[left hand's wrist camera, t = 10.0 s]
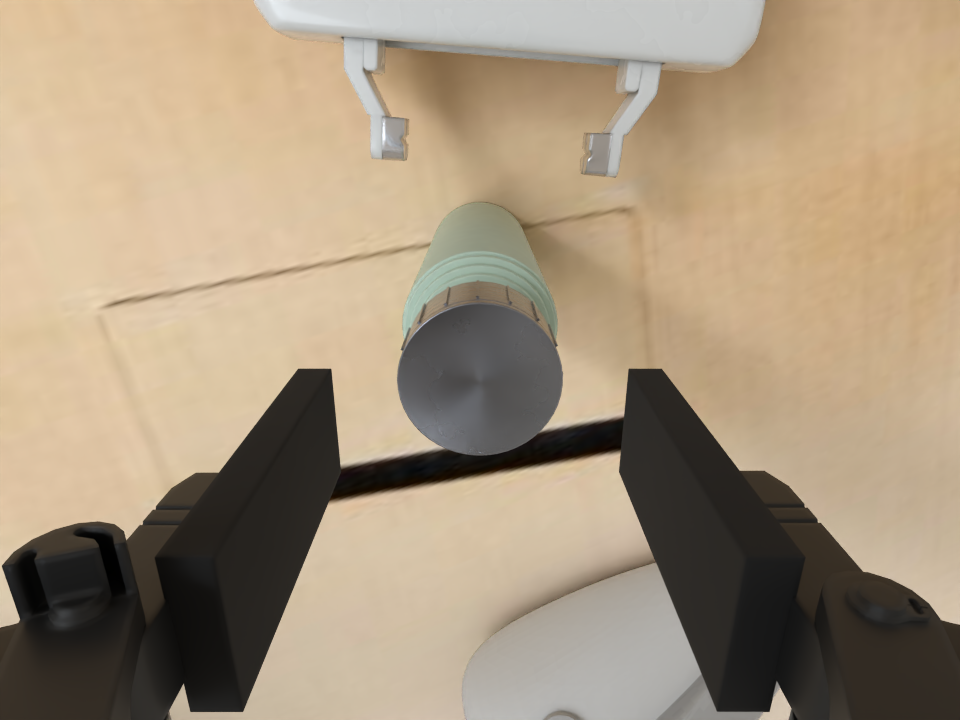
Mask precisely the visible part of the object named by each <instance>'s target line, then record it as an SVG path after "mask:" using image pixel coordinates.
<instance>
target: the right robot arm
mask: <svg viewBox="0 0 960 720" xmlns="http://www.w3.org/2000/svg"><path fill="white" fill-rule="evenodd" d="M253 1H254V4H255V6H256V7H257V9H258V11H259V12H260V14H261V15H262V16H263V18H264V19H265V20H266V22H267V23H268V24H269V25H270V27H271V28H272V29H273V30H275V31H277V32H278V33H280V34H282V35H284V36H286V37H289V38H291V39H294V40H301V41H312V42H325V43H337V44H344V70H345V71H346V73H347V75H348V77H349V79H350V81H351V83H352V85H353V87H354V89H355V91H356V93H357V95H358V97H359V99H360V101H361V103H362V104H363V106H364V108H365V110H366V112H367V114H368V115H371V142H370V151H371V158H372V159H381V160H398V161H405V160H407V158H408V143H407V142H406V140H405V139H406V137H407V136H408V135H409V119H405V118H396V117H391V115H390V112H389V110H388V108H387V106H386V104H385V102H384V100H383V98H382V96H381V94H380V92H379V90H378V87H377V85H376V83H375V81H374V79H373V77H372V73H373V74H376V75H383V74H384V73H385V47H386V48H399V49H411V50H423V51H436V52H448V53H460V54H472V55H485V56H497V57H509V58H522V59H534V60H546V61H559V62H571V63H583V64H596V65H608V66H618V70H617V78H616V86H615V92H616V93H617V94H627V97H626V98H625V100H624V101H623V102H622V104H621V105H620V107H619V108H618V110H617V111H616V113H615V114H614V116H613V117H612V119H611V120H610V121H609V123H608V124H607V126H606V127H605V129H604V130H603V132H602V133H603V134H600V133H584V139H583V146H582V148H583V150H584V152H585V154H584V155H583V156H582V158H581V163H580V173H581V174H584V175H594V176H604V177H605V176H606V177H616V176H617V174H618V171H619V166H620V159H621V152H622V146H623V139H624V135H627V134H628V133H629V132H630V130H631V129H632V127H633V126H634V125H635V123H636V122H637V121H638V119H639V118H640V117H641V115H642V114H643V112H644V111H645V110H646V108H647V107H648V106H649V104H650V103H651V102H652V100H653V99H654V97H655V96H656V95H657V91H658V85H659V79H660V73H661V70H669V71H682V72H694V73H711V72H716V71H720V70H724V69H727V68H730V67H732V66H733V65H734V64H735V63H736V62H738V61H739V60H740V59H741V58H742V57H743V56H744V55H745V53H746V52H747V51H748V50H749V49H750V48H751V47H752V46H753V44H754V42H755V41H756V39H757V36H758V33H759V29H760V25H761V21H762V17H763V12H764V7H765V2H766V0H253Z"/></svg>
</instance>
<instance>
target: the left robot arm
mask: <svg viewBox="0 0 960 720" xmlns="http://www.w3.org/2000/svg"><path fill="white" fill-rule="evenodd" d="M340 473H341V467H340V457H339V446H338V436H337V425H336V414H335V404H334V393H333V382H332V372H331V369H298V370H297V371H296V372H295V374H294V375H293V376H292V378H291V379H290V380H289V382H288V383H287V384H286V386H285V387H284V388H283V390H282V391H281V392H280V393H279V395H278V396H277V397H276V399H275V400H274V401H273V403H272V404H271V405H270V407H269V408H268V409H267V410H266V412H265V413H264V414H263V416H262V417H261V418H260V420H259V421H258V422H257V424H256V425H255V426H254V428H253V429H252V430H251V431H250V433H249V434H248V435H247V437H246V438H245V439H244V441H243V442H242V443H241V445H240V446H239V447H238V448H237V450H236V451H235V452H234V454H233V455H232V456H231V458H230V459H229V460H228V462H227V463H226V464H225V465H224V467H223V468H222V469H221V471H220V472H219V473H195V474H193V475H192V476H190V477H189V478H187V479H185V480H184V481H182V482H181V483H179V484H178V485H176V486H174V487H173V488H171V490H170V491H169V492H168V493H167V494H166V495H165V497H164V498H163V499H162V500H161V501H160V502H159V503H158V505H157V506H156V510H152V512H151V513H150V514H149V515H148V516H147V517H146V519H145V520H144V521H143V525H139V527H138V528H137V529H136V530H135V531H134V532H133V534H132V535H131V536H130V537H129V538H128V539H127V541H126V538H125V534H124V531H123V530H121V529H120V528H119V527H117V526H116V525H115V524H110V523H104V522H88V523H77V524H74V525H70V526H66V527H63V528H59V529H55V530H53V531H51V532H48V533H46V534H44V535H42V536H39V537H37V538H35V539H33V540H31V541H30V542H28V543H27V544H25V545H24V546H22V547H21V548H19V549H18V550H16V551H15V552H13V554H12V555H11V556H10V557H9V558H8V559H7V561H6V562H5V563H4V564H3V565H2V568H3V571H4V574H5V577H6V579H7V582H8V585H9V588H10V591H11V594H12V597H13V600H14V603H15V605H16V608H17V611H18V614H19V617H20V621H19V623H17V624H14V625H10V626H5V627H1V628H0V720H171V717H170V713H169V710H170V708H171V706H172V704H173V702H174V700H175V698H176V697H177V695H178V693H179V691H180V689H181V687H182V685H183V684H184V686H185V690H186V695H187V699H188V703H189V707H190V712H243V711H244V708H245V706H246V703H247V701H248V698H249V696H250V693H251V691H252V689H253V686H254V684H255V681H256V679H257V676H258V674H259V671H260V669H261V666H262V664H263V662H264V659H265V657H266V654H267V652H268V649H269V647H270V644H271V642H272V640H273V637H274V635H275V632H276V630H277V627H278V625H279V622H280V620H281V617H282V615H283V613H284V610H285V608H286V605H287V603H288V600H289V598H290V595H291V593H292V590H293V588H294V586H295V583H296V581H297V578H298V576H299V573H300V571H301V568H302V566H303V564H304V561H305V559H306V556H307V554H308V551H309V549H310V546H311V544H312V541H313V539H314V537H315V534H316V532H317V529H318V527H319V524H320V522H321V519H322V517H323V514H324V512H325V510H326V507H327V505H328V502H329V500H330V497H331V495H332V492H333V490H334V488H335V485H336V483H337V480H338V478H339V475H340ZM619 473H620V475H621V478H622V480H623V483H624V485H625V488H626V490H627V492H628V495H629V497H630V500H631V502H632V505H633V507H634V510H635V512H636V514H637V517H638V519H639V522H640V524H641V527H642V529H643V532H644V534H645V537H646V539H647V541H648V544H649V546H650V549H651V551H652V554H653V556H654V559H655V561H656V564H657V566H658V568H659V571H660V573H661V576H662V578H663V581H664V583H665V586H666V588H667V590H668V593H669V595H670V598H671V600H672V603H673V605H674V608H675V610H676V613H677V615H678V617H679V620H680V622H681V625H682V627H683V630H684V632H685V635H686V637H687V640H688V642H689V644H690V647H691V649H692V652H693V654H694V657H695V659H696V662H697V664H698V666H699V669H700V671H701V674H702V676H703V679H704V681H705V684H706V686H707V689H708V691H709V693H710V696H711V698H712V701H713V703H714V706H715V708H716V711H717V712H770V707H771V703H772V699H773V695H774V690H775V686H776V682H778V684H779V686H780V688H781V690H782V692H783V693H784V695H785V697H786V699H787V701H788V703H789V705H790V706H791V708H792V709H791V713H790V717H789V720H960V625H958V624H953V623H949V622H946V621H942V620H940V618H939V617H938V615H937V614H936V613H935V611H934V610H933V608H932V607H931V606H930V604H929V603H927V602H926V601H925V600H924V599H922V598H921V597H920V596H918V595H917V594H916V593H915V592H913V591H912V590H910V589H908V588H906V587H905V586H903V585H901V584H899V583H897V582H895V581H893V580H891V579H888V578H885V577H881V576H878V575H875V574H871V573H868V572H863V571H862V570H861V569H860V568H859V566H858V565H857V564H856V563H855V562H854V561H853V560H852V558H851V557H850V556H849V555H848V554H847V553H846V552H845V550H844V549H843V548H842V547H841V546H840V545H839V543H838V542H837V541H836V540H835V539H834V538H833V537H832V535H831V534H830V533H829V532H828V531H827V530H826V528H825V527H824V526H823V525H822V524H821V523H818V522H817V518H816V517H815V516H814V515H813V514H812V512H811V511H810V510H809V509H808V508H805V507H804V503H803V502H802V501H801V500H800V499H799V497H798V496H797V495H796V494H795V493H794V492H793V491H792V489H791V488H790V487H789V486H788V485H786V484H784V483H783V482H781V481H780V480H778V479H776V478H775V477H773V476H772V475H770V474H768V473H767V472H765V471H739V469H738V468H737V467H736V465H735V464H734V463H733V462H732V460H731V459H730V458H729V456H728V455H727V454H726V452H725V451H724V450H723V448H722V447H721V446H720V445H719V443H718V442H717V441H716V439H715V438H714V437H713V435H712V434H711V433H710V431H709V430H708V429H707V428H706V426H705V425H704V424H703V422H702V421H701V420H700V418H699V417H698V416H697V414H696V413H695V412H694V410H693V409H692V408H691V407H690V405H689V404H688V403H687V401H686V400H685V399H684V397H683V396H682V395H681V393H680V392H679V391H678V390H677V388H676V387H675V386H674V384H673V383H672V382H671V380H670V379H669V378H668V376H667V375H666V374H665V372H664V371H663V370H662V369H629V372H628V382H627V393H626V404H625V414H624V425H623V436H622V446H621V457H620V467H619Z"/></svg>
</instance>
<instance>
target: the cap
mask: <svg viewBox="0 0 960 720" xmlns="http://www.w3.org/2000/svg"><path fill="white" fill-rule="evenodd" d="M556 346H558V345H557V342H556V339H555V337H554V334H553V331H552V328H551V326H550V324H547V322H546V320H545V318H544V316H543V315H542V313H541V312H540V310H539V309H538V308H537V307H536V305H535V302H534V301H533V300H532V301H530V300H529V299H528V298H527V297H526V296H524V295H523V294H521V293H520V292H518V291H516V290H514V289H512V288H510V287H509V285H507V286H505V285H502V284H498V283H493V282H484V281H479V280H476V282H467V283H462V284H459V285H455V286H452V287H447V289H446V290H444V291H442V292H440V293H439V294H437V295H436V296H434V297H433V298H432V299H431V300H429V301H428V302H427V303H426V304H425V303H424V304H423V306H422V309H421V310H420V312H419V313H418V315H417V316H416V318H415V320H414V322H413V324H412V326H411V328H408V331H407V334H406V337H405V339H404V342H403V345H402V348H401V350H403V352H402V355H401V358H400V361H399V366H398V374H397V383H398V392H399V396H400V400H401V403H402V405H403V408H404V410H405V412H406V414H407V415H408V417H409V419H410V420H411V421H412V423H413V424H414V425H415V427H416V428H417V429H418V430H419V431H420V432H421V433H422V434H424V435H425V436H426V437H427V438H428V439H430V440H431V441H433V442H435V443H436V444H438V445H440V446H442V447H444V448H446V449H449V450H452V451H455V452H458V453H463V454H469V455H491V454H498V453H502V452H505V451H509V450H511V449H514V448H516V447H518V446H520V445H522V444H524V443H526V442H527V441H529V440H530V439H532V438H533V437H534V436H535V435H536V434H538V433H539V432H540V431H541V430H542V429H543V428H544V426H545V425H546V424H547V423H548V422H549V420H550V419H551V417H552V416H553V414H554V412H555V410H556V408H557V406H558V403H559V400H560V397H561V392H562V386H563V372H562V365H561V361H560V358H559V354H558V351H557V349H556Z"/></svg>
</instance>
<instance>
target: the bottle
mask: <svg viewBox="0 0 960 720" xmlns="http://www.w3.org/2000/svg"><path fill="white" fill-rule="evenodd" d="M476 280H479V281H484V282H493V283H498V284H502V285H505V286H507V285H509V287H510V288H512V289H514V290H516V291H518V292H520V293H521V294H523V295H524V296H526V297H527V298H528V299H529V300H530V301H532V300H533V301H534V302H535V305H536V307H537V308H538V309H539V310H540V312H541V313H542V315H543V316H544V318H545V320H546V322H547V324H550V326H551V328H552V331H553V334H554V337H555V339H556V336H557V313H556V308H555V304H554V301H553V299H552V296H551V294H550V291H549V289H548V287H547V284H546V282H545V280H544V278H543V275H542V273H541V271H540V268H539V266H538V264H537V261H536V259H535V257H534V254H533V252H532V250H531V248H530V245H529V243H528V241H527V238H526V236H525V234H524V231H523V229H522V227H521V225H520V224H519V222H518V221H517V220H516V218H515V217H514V216H513V215H512V214H511V213H509V212H508V211H507V210H505V209H503V208H502V207H500V206H497V205H495V204H491V203H485V202H475V203H469V204H466V205H463V206H460V207H458V208H456V209H455V210H453V211H452V212H451V213H449V214H448V215H447V216H446V217H445V218H444V220H443V221H442V222H441V224H440V225H439V227H438V229H437V231H436V234H435V236H434V238H433V240H432V243H431V245H430V247H429V250H428V252H427V254H426V257H425V259H424V261H423V264H422V266H421V268H420V270H419V273H418V275H417V277H416V280H415V282H414V284H413V287H412V289H411V291H410V294H409V296H408V299H407V301H406V304H405V308H404V313H403V324H402V326H403V336H404V339H405V337H406V334H407V331H408V328H411V326H412V324H413V322H414V320H415V318H416V316H417V315H418V313H419V312H420V310H421V309H422V306H423V304H424V303H425V304H426V303H427V302H428V301H429V300H431V299H432V298H433V297H434V296H436V295H437V294H439V293H440V292H442V291H444V290H446V289H447V287H452V286H455V285H459V284H462V283H467V282H476Z"/></svg>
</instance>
